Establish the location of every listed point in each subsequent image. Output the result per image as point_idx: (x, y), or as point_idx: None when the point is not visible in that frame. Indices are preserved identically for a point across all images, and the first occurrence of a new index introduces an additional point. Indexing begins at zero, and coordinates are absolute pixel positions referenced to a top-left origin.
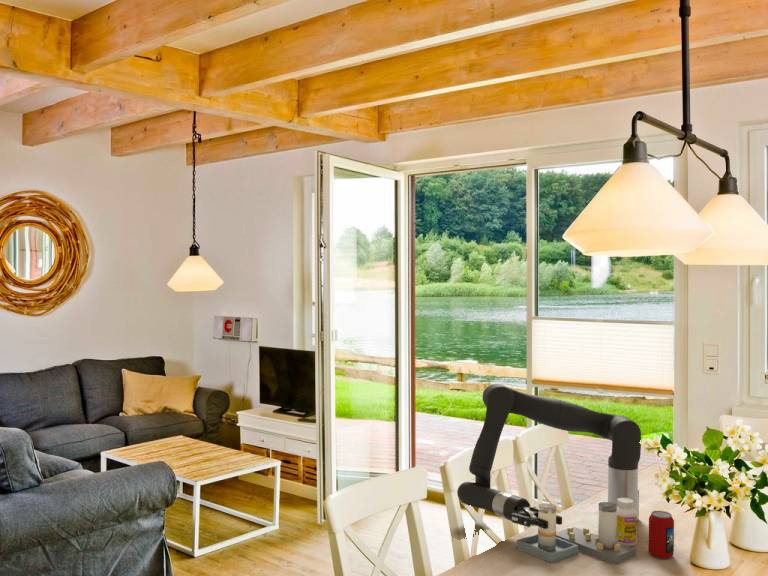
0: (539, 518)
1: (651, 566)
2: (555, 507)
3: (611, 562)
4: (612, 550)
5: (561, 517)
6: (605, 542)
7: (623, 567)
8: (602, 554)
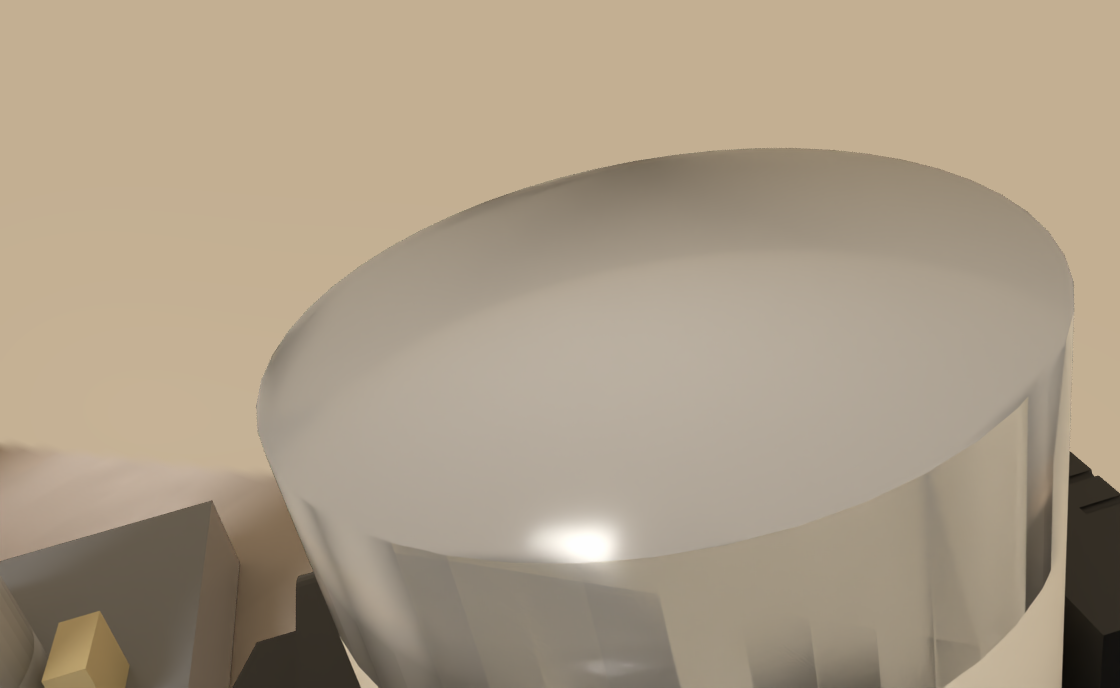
0: (1078, 556)
1: (20, 491)
2: (455, 223)
3: (234, 579)
4: (38, 630)
5: (308, 575)
6: (19, 608)
7: (234, 504)
8: (206, 623)
